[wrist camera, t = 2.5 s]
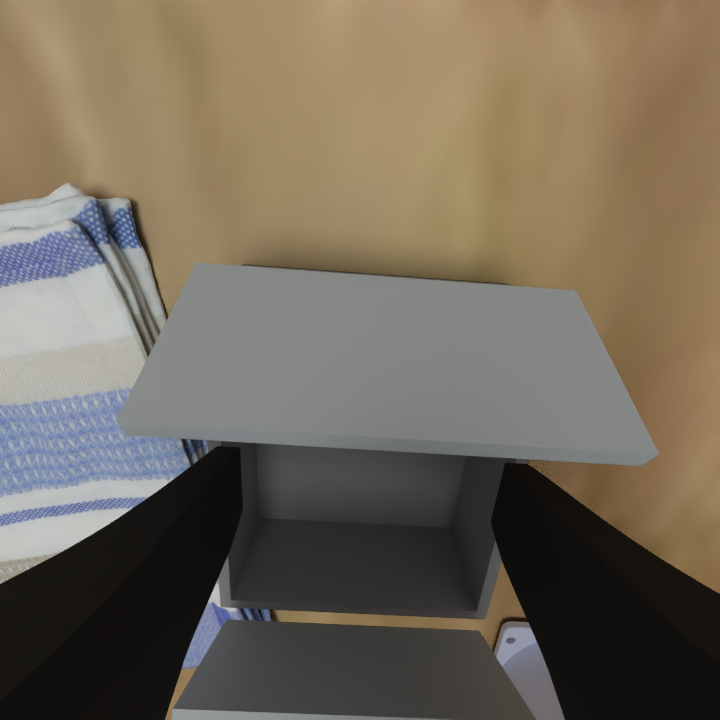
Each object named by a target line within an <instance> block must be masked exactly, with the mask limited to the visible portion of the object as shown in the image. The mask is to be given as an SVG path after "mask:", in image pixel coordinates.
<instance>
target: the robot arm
mask: <svg viewBox="0 0 720 720" xmlns="http://www.w3.org/2000/svg"><path fill="white" fill-rule="evenodd" d="M242 510H243V498H242V476H241V455H240V447H226V446H217V447H215V448H214V449H212V450H211V451H210V452H208V453H207V454H206V455H205V456H203V457H202V458H201V459H199V460H198V461H197V462H195V463H194V464H193V465H192V466H190V467H189V468H188V469H186V470H185V471H184V472H182V473H181V474H180V475H178V476H177V477H176V478H174V479H173V480H172V481H170V482H169V483H168V484H166V485H165V486H164V487H162V488H161V489H160V490H158V491H157V492H156V493H154V494H153V495H151V496H150V497H148V498H147V499H145V500H144V501H142V502H141V503H139V504H138V505H137V506H135V507H134V508H132V509H131V510H129V511H128V512H126V513H125V514H123V515H122V516H120V517H119V518H118V519H116V520H114V521H113V522H111V523H110V524H108V525H106V526H105V527H103V528H102V529H100V530H98V531H97V532H95V533H93V534H92V535H90V536H88V537H87V538H85V539H83V540H81V541H80V542H78V543H76V544H75V545H73V546H71V547H69V548H68V549H66V550H64V551H62V552H60V553H59V554H57V555H55V556H53V557H51V558H49V559H47V560H45V561H43V562H41V563H39V564H38V565H36V566H34V567H32V568H30V569H28V570H26V571H24V572H22V573H20V574H18V575H16V576H14V577H12V578H10V579H8V580H6V581H4V582H3V583H1V584H0V720H165V717H166V714H167V711H168V708H169V705H170V702H171V699H172V696H173V693H174V690H175V687H176V684H177V681H178V678H179V675H180V672H181V669H182V666H183V663H184V660H185V657H186V654H187V652H188V649H189V647H190V644H191V641H192V639H193V636H194V634H195V631H196V629H197V627H198V624H199V622H200V620H201V617H202V615H203V613H204V610H205V608H206V606H207V603H208V601H209V599H210V596H211V594H212V592H213V589H214V587H215V585H216V582H217V580H218V578H219V575H220V573H221V571H222V568H223V566H224V564H225V561H226V559H227V557H228V554H229V552H230V549H231V547H232V544H233V541H234V538H235V534H236V531H237V528H238V524H239V521H240V517H241V514H242ZM491 525H492V529H493V532H494V536H495V540H496V543H497V547H498V550H499V553H500V556H501V559H502V562H503V564H504V567H505V569H506V571H507V574H508V576H509V579H510V581H511V583H512V586H513V588H514V590H515V593H516V595H517V597H518V600H519V602H520V604H521V606H522V609H523V611H524V613H525V616H526V618H527V620H528V622H517V621H509V622H506V623H504V624H503V625H502V627H501V630H500V633H499V637H498V640H497V644H496V647H495V650H494V655H495V656H496V658H497V659H498V661H499V663H500V664H501V666H502V667H503V669H504V670H505V672H506V673H507V675H508V676H509V678H510V680H511V681H512V683H513V684H514V686H515V687H516V689H517V690H518V692H519V693H520V695H521V697H522V698H523V700H524V701H525V703H526V704H527V706H528V707H529V709H530V711H531V712H532V714H533V715H534V717H535V718H536V720H720V594H719V593H717V592H715V591H714V590H712V589H710V588H708V587H707V586H705V585H703V584H701V583H700V582H698V581H696V580H695V579H693V578H692V577H690V576H688V575H687V574H685V573H683V572H682V571H680V570H678V569H677V568H675V567H673V566H672V565H670V564H668V563H667V562H665V561H664V560H662V559H660V558H659V557H657V556H656V555H654V554H653V553H651V552H650V551H648V550H646V549H645V548H644V547H642V546H641V545H639V544H638V543H636V542H635V541H633V540H632V539H630V538H629V537H627V536H626V535H624V534H623V533H621V532H620V531H619V530H617V529H616V528H614V527H613V526H612V525H610V524H609V523H607V522H606V521H604V520H603V519H602V518H600V517H599V516H598V515H596V514H595V513H593V512H592V511H591V510H589V509H588V508H587V507H585V506H584V505H583V504H581V503H580V502H579V501H577V500H576V499H575V498H573V497H572V496H571V495H569V494H568V493H567V492H565V491H564V490H563V489H561V488H560V487H559V486H557V485H556V484H555V483H553V482H552V481H551V480H549V479H548V478H547V477H545V476H544V475H543V474H541V473H540V472H538V471H537V470H536V469H534V468H533V467H531V466H530V465H528V464H520V463H505V465H504V469H503V473H502V477H501V481H500V485H499V489H498V493H497V497H496V501H495V505H494V509H493V513H492V517H491Z"/></svg>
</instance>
